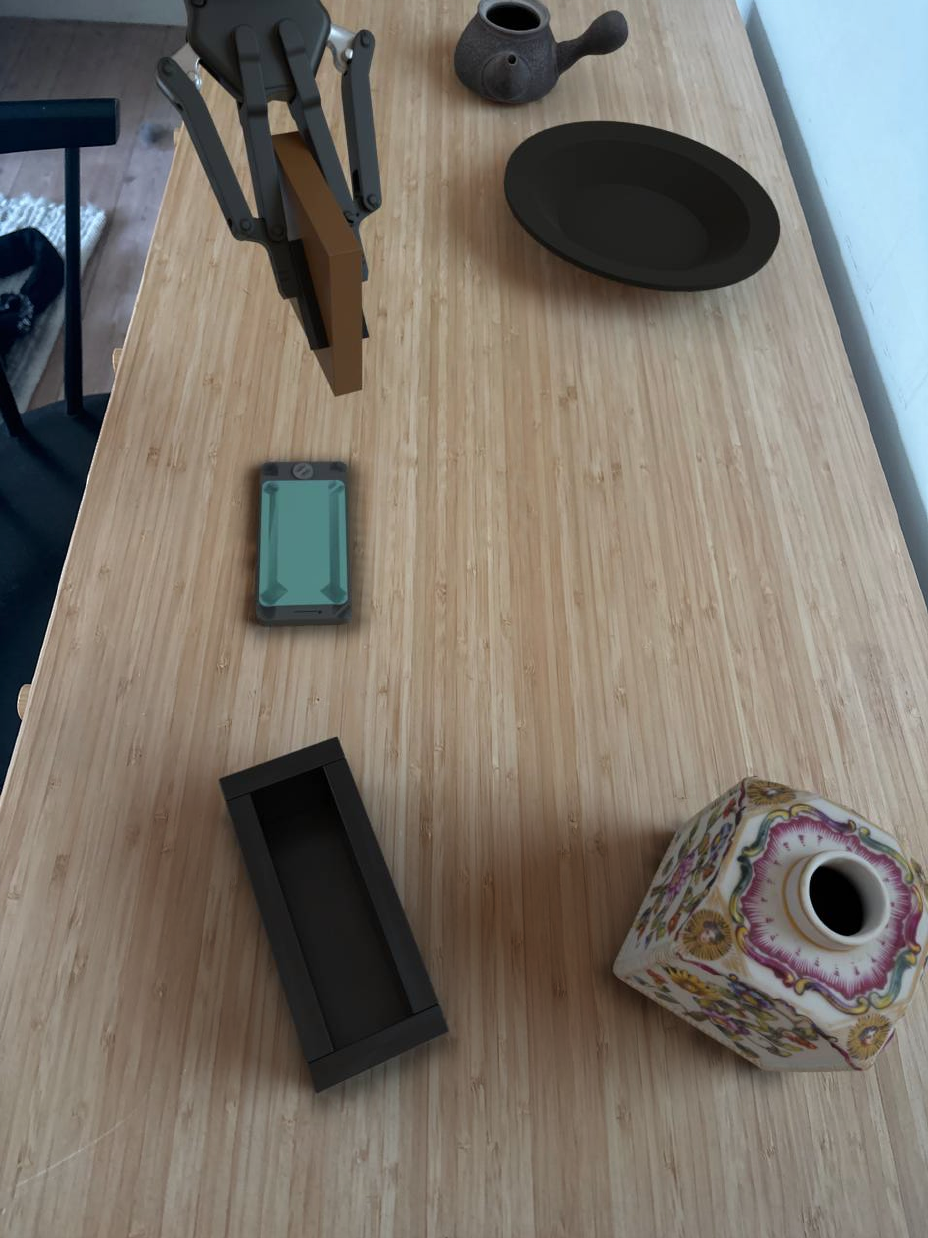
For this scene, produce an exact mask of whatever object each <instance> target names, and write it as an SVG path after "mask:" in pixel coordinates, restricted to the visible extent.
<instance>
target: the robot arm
mask: <svg viewBox="0 0 928 1238" xmlns="http://www.w3.org/2000/svg"><path fill="white" fill-rule="evenodd" d="M183 3H184V7H185V11H186V18H187V25H186V32H185V44H184V45H183V46H181V48H179V49H178V50H177V51H176V52H175V53H174V54H173V55H172V56H171V57H170V56H162V57H161V58H159V60H158V61H157V63H156V64H157V65H156V71H155V85H156V87H157V88H158V90H159V91H160V92H161V93H162V94H163V95H164V97H165V98H166V99H167V100H168V102H169V103H170V104H171V106H173V107H174V109H175V111H177V112H178V114H179V115H180V117H181V119H182V122H183V124H184V126H185V129H186V130H187V133H188V135H189V138H190V140H191V142H192V146H193V148H194V149H195V150H194V151H195V153H196V154H197V157H198V159H199V161H200V164H201V166H202V168H203V171H204V174H205V175H206V177H207V181H208V182H209V184H210V187H211V190H212V191H213V194H214V196H215V199H216V201H217V203H218V207H219V208H220V210H221V213H222V215H223V218H224V220H225V222H226V224H227V227H228V229H229V231H230V234H231V236H232V237H233V238H234V239H235V240H236V241H239V242H248V243H249V242H250V243H255V244H259V245H261V246H262V247H263V248H264V249H265V250H266V252H267V256H268V260H269V263H270V267H271V270H272V273H273V276H274V277H273V278H274V280H275V281H274V282H275V285H276V289H277V293H278V294H279V295H280V298H282V300H283V301H285V300H289V299H290V298H295V297H296V298H297V302H298V306H299V309H300V313H301V317H302V320H303V324H304V328H305V332H306V335H307V337H306V339H307V343H308V345H309V350H310V351H313V350H319V349H324V348H328V347H330V346H329V342H328V339H327V335H326V331H325V327H324V323H323V319H322V316H321V312H320V308H319V304H318V300H317V296H316V293H315V289H314V285H313V281H312V277H311V273H310V270H309V266H308V262H307V258H306V254H305V250H304V247H303V243H302V239H296V240H291V241H289V240H288V237H287V224H286V218H285V213H284V207H283V201H282V195H281V190H280V184H279V178H278V172H277V166H276V161H275V155H274V149H273V143H272V137H271V135H272V133H271V126H270V119H269V106H268V105H269V103H271V102H274V101H276V102H283V103H286V105H287V108H288V111H289V114H290V116H291V118H292V120H293V121H294V123H295V126H296V129H297V131H299V133H300V135H301V136H302V138H303V140H304V142H305V144H306V146H307V148H308V149H309V151H310V153H311V155H312V157H313V159H314V161H315V162H316V164H317V166H318V168H319V170H320V172H321V174H322V175H323V177H324V179H325V181H326V183H327V185H328V187H329V188H330V190H331V192H332V194H333V196H334V198H335V200H336V201H337V203H338V205H339V207H340V209H341V211H342V213H343V214H344V216H345V218H346V220H347V222H348V224H349V226H350V227H351V229H352V231H353V233H354V235H355V237H356V239H357V240H358V242H359V244H360V246H361V248H362V283H365V282H367V281H368V280H369V272H370V271H369V267H368V263H367V258H366V255H365V250H364V246H363V242H362V238H361V234H360V225H361V223H362V221H364V220H365V219H366V218H367V217H369V216H370V215H372V214H373V213H375V212H376V211H378V210H379V209H380V208H381V206H382V204H383V197H382V187H381V178H380V167H379V158H378V148H377V138H376V137H377V136H376V130H375V119H374V111H373V109H374V108H373V101H372V89H371V81H370V73H371V68H372V64H373V63H372V62H373V58H374V53H375V52H374V51H375V49H376V38H375V35H374V34H373V33H372V32H371V31H370V30H369V29H365V28H363V29H360V30H359V31H357V33H356V32H353V31H352V30H350V29H347V28H344V27H342V26H340V25H338V24H335V23H333V22H332V18H331V15H330V13H329V10H328V9H327V8H326V6H325V5H324V3H323V2H322V1H321V0H183ZM326 48H328V49H329V50H330V53H331V54H332V64H333V67H334V68H335V70H336V71H337V72H339V73H340V74H341V77H340V81H341V82H340V93H341V104H342V109H343V110H342V111H343V113H342V114H343V119H344V120H343V122H344V130H345V131H344V132H345V139H346V140H345V141H346V147H347V158H348V165H349V174H350V183H351V184H350V185H351V191H350V188H349V186H348V185H349V184H348V182H347V178H346V176H345V172H344V169H343V168H342V163H341V161H340V157H339V155H338V152H337V148H336V145H335V143H334V140H333V136H332V133H331V130H330V128H329V125H328V122H327V119H326V116H325V113H324V112H325V111H324V110H323V107H322V98H321V94H320V90H319V87H318V84H317V81H316V78H317V75H318V71H319V69H320V65H321V63H322V59H323V58H324V57H323V56H324V54H325V51H326ZM199 65H200V66H201V67H202V69H204V71H206V72H207V73H208V74H209V75H210V77H212V78H213V80H214V81H216V82H217V83H218V84H219V85H220V86H221V87H222V88H223V89H224V90H225V91H226V92H227V93H228V94H229V95H230V96H231V98H233V99H234V100H235V103H236V110H237V114H238V120H239V124H240V127H241V129H242V134H243V140H244V145H245V146H244V147H245V151H246V157H247V162H248V167H249V174H250V178H251V179H250V180H251V184H252V190H253V196H254V200H255V201H254V202H255V206H256V212H257V217H254V216H253V214H252V212H251V209H250V207H249V204H248V202H247V200H246V197H245V195H244V193H243V190H242V187H241V185H240V182H239V180H238V178H237V175H236V173H235V170H234V168H233V166H232V163H231V161H230V158H229V156H228V154H227V151H226V148H225V146H224V144H223V141H222V139H221V137H220V135H219V132H218V129H217V127H216V125H215V122H214V119H213V118H212V115H211V113H210V110H209V108H208V105H207V103H206V102H205V99H204V97H203V95H202V94H201V89H202V87H203V79H202V76H201V74H200V72H199V69H198V66H199ZM351 192H352V194H351ZM364 313H365V312H364V308H363V307H362V340H364V339H368V338H370V333H369V329H368V324H367V321H366V317H365V314H364ZM306 335H305V336H306Z"/></svg>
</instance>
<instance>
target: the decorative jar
mask: <svg viewBox="0 0 928 1238" xmlns="http://www.w3.org/2000/svg"><path fill="white" fill-rule="evenodd" d="M927 963H928V877H927V875H926V873H925V872H924V868H923V865H922V864H920V863H919V862H918V861H917V860H916V859H915V857H914V856H912V855H911V854H910V853H909V852H908V851H907V850H906V848H905V847H904V846H903V844H902V842H901V841H900V839H899V838H897V836H895V835H894V834H893V833H891V832H890V831H889V830H886V829H885V828H883V827H882V826H879V825H878V824H876V823H874V822H873V821H871V820H869V819H868V818H866V817H865V816H863V815H861V814H860V813H858V812H857V811H856V810H854V809H852V808H851V807H848V806H847V805H844V804H842V803H840V802H837V801H835V800H833V799H831V798H829V797H826V796H824V795H822V794H818V793H815V792H811V791H809V790H804V789H798V788H795V787H791V786H789V785H787V784H783V783H779V782H775V781H770V780H765V779H762V778H761V777H759V776H758V775H752V776H751V775H750V776H746V777H743V778H742V779H741V780H740V781H739V782H737V783H735V784H734V785H733V786H732V787H731V788H729V789H728V790H726V791H725V792H723V793H722V794H721V795H720V796H718V797H717V798H715V799H714V800H713V801H711V802H710V803H708V804H707V805H705V807H703V808H701V810H699V811H698V812H697V813H695V814H693V816H692V817H690V818H689V819H688V820H686V822H685V823H684V824H683V825H681V826H680V827H679V828H678V829H677V830H676V832H675V834H674V836H673V838H672V839H671V841H670V844H669V846H668V847H667V850H666V852H665V854H664V856H663V857H662V859H661V862H660V863H659V866H658V869H657V870H656V872H655V874H654V877H653V879H652V880H651V883H650V885H649V888H648V890H647V892H646V895H645V896H644V898H643V900H642V903H641V905H640V908H639V909H638V911H637V914H636V916H635V918H634V921H633V922H632V926H631V927H630V929H629V931H628V934H627V935H626V937H625V939H624V941H623V943H622V946H621V948H620V950H619V953H618V954H617V956H616V958H615V960H614V963H613V966H612V972H613V974H614V975H615V977H616V978H617V979H618V980H621V981H622V982H624V983H625V984H627V985H628V986H630V987H631V988H633V989H635V990H636V991H638V992H639V993H641V994H642V995H644V996H646V997H647V998H649V999H651V1000H652V1001H653V1002H655V1003H656V1004H658V1005H659V1006H661V1007H662V1008H664V1009H666V1010H668V1011H670V1012H672V1013H673V1014H674V1015H676V1016H677V1017H679V1018H680V1019H682V1020H683V1021H685V1022H686V1023H688V1024H689V1025H692V1027H695V1028H696V1029H697V1030H699V1031H701V1032H702V1033H704V1034H705V1035H708V1036H709V1037H710V1038H712V1039H713V1040H715V1041H716V1042H718V1043H720V1044H721V1045H723V1046H725V1047H726V1048H728V1049H730V1050H731V1051H733V1052H735V1053H736V1054H738V1055H739V1056H741V1057H742V1058H744V1059H745V1060H746V1061H749V1062H751V1063H752V1064H753V1065H755V1066H756V1067H758V1068H759V1069H761V1070H763V1071H766V1072H768V1071H769V1072H777V1073H778V1072H783V1073H832V1072H835V1073H836V1072H837V1073H838V1072H840V1073H841V1072H866V1071H868V1070H870V1069H871V1068H872V1067H873V1065H874V1063H875V1062H876V1061H875V1060H876V1058H877V1057H878V1055H880V1054H881V1053H882V1052H883V1051H884V1049H885V1048H886V1047H887V1045H888V1044H890V1042H891V1040H892V1039H893V1038H894V1036H895V1031H896V1026H897V1025H898V1023H899V1021H900V1020H901V1019H902V1018H903V1017H904V1016H905V1014H906V1013H907V1010H908V1008H909V1007H910V1006H911V1004H912V1003H913V1001H914V998H915V995H916V991H917V988H918V987H919V985H920V983H921V981H922V979H923V975H924V972H925V968H926V966H927Z"/></svg>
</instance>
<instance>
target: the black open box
mask: <svg viewBox="0 0 928 1238" xmlns="http://www.w3.org/2000/svg"><path fill="white" fill-rule="evenodd" d="M218 783H219V786H220V790H221V793H222V796H223V800H224V803H225V807H226V809H227V813H228V817H229V819H230V822H231V825H232V828H233V831H234V836H235V838H236V841H237V845H238V848H239V851H240V854H241V857H242V861H243V864H244V867H245V870H246V874H247V877H248V880H249V883H250V886H251V889H252V893H253V896H254V900H255V902H256V903H255V904H256V906H257V909H258V913H259V915H260V917H261V921H262V925H263V928H264V931H265V934H266V938H267V941H268V944H269V948H270V950H271V955H272V957H273V960H274V963H275V967H276V970H277V973H278V976H279V979H280V983H281V986H282V989H283V992H284V996H285V999H286V1002H287V1005H288V1008H289V1011H290V1012H289V1013H290V1016H291V1017H292V1018H291V1019H292V1021H293V1025H294V1028H295V1031H296V1034H297V1036H298V1040H299V1043H300V1046H301V1047H300V1048H301V1050H302V1053H303V1057H304V1059H305V1063H306V1064H307V1065H306V1066H307V1069H308V1072H309V1075H310V1080H311V1082H312V1085H313V1088H314V1091H315V1094H316V1095H318V1094H320V1093H323V1092H325V1091H328V1090H330V1089H331V1088H334V1087H336V1086H338V1085H340V1084H342V1083H344V1082H346V1081H348V1080H350V1079H353V1078H355V1077H357V1076H359V1075H361V1074H363V1073H365V1072H367V1071H370V1070H371V1069H374V1068H376V1067H379V1066H380V1065H382V1064H384V1063H387V1062H389V1061H391V1060H392V1059H393V1060H394V1059H395V1058H397V1057H399V1056H401V1055H403V1054H405V1053H408V1052H410V1051H412V1050H414V1049H416V1048H418V1047H420V1046H422V1045H425V1044H428V1043H429V1042H431V1041H433V1040H436V1039H437V1038H439V1037H441V1036H444V1035H446V1034H448V1033H449V1032H450V1028H449V1025H448V1023H447V1020H446V1018H445V1015H444V1013H443V1010H442V1007H441V1005H440V1003H439V999H438V997H437V994H436V991H435V989H434V986H433V984H432V981H431V978H430V976H429V973H428V970H427V967H426V965H425V962H424V959H423V957H422V954H421V951H420V949H419V947H418V944H417V941H416V939H415V936H414V934H413V930H412V928H411V925H410V923H409V920H408V918H407V915H406V912H405V909H404V907H403V904H402V902H401V899H400V896H399V895H398V891H397V888H396V885H395V883H394V881H393V878H392V875H391V873H390V870H389V867H388V865H387V862H386V860H385V857H384V855H383V851H382V849H381V847H380V843H379V841H378V839H377V835H376V833H375V831H374V828H373V826H372V823H371V820H370V818H369V815H368V812H367V810H366V807H365V804H364V802H363V799H362V796H361V793H360V791H359V788H358V785H357V783H356V781H355V778H354V775H353V773H352V770H351V768H350V765H349V763H348V759H347V758H346V754H345V751H344V749H343V747H342V744H341V742H340V738H339V737H338V736H337V735H336V736H334V737H333V736H332V737H330V738H327V739H325V740H322V741H319V742H317V743H314V744H311V745H309V746H306V747H303V748H300V749H297V750H295V751H292V752H289V753H287V754H284V755H281V756H278V757H276V758H273V759H269V760H267V761H264V762H261V763H259V764H255V765H253V766H250V767H248V768H245V769H242V770H239V771H236V772H233V773H231V774H227V775H226V776H223V777H220V778H219V779H218Z"/></svg>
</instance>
